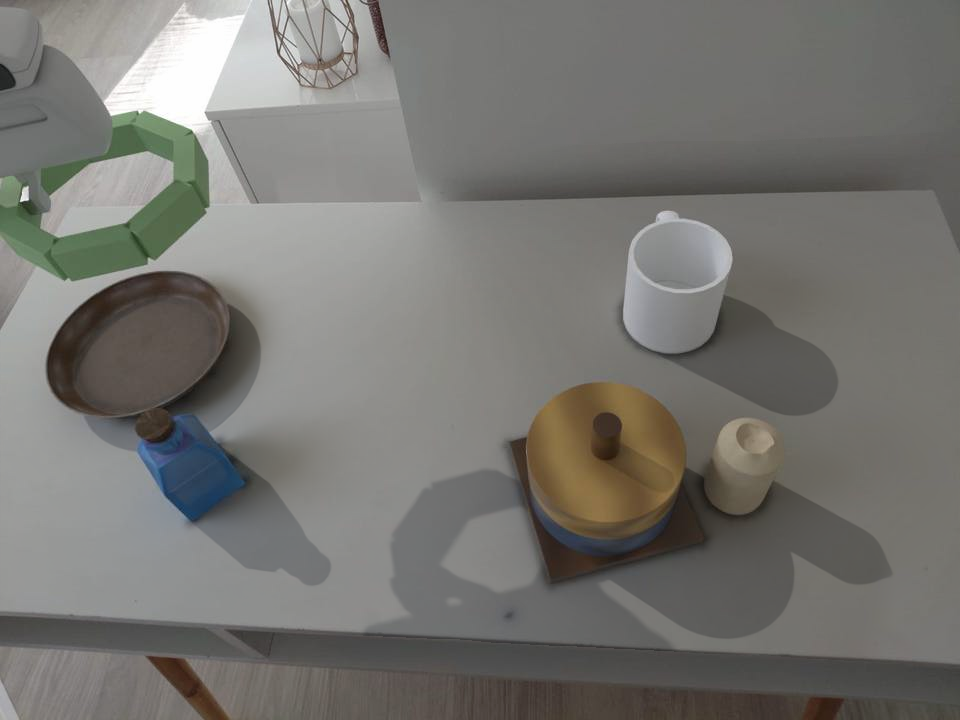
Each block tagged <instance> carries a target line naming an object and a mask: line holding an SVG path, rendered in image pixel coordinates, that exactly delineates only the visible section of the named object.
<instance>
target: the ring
mask: <svg viewBox="0 0 960 720" xmlns="http://www.w3.org/2000/svg"><path fill="white" fill-rule="evenodd" d="M111 118H112V122H113V134H112V140H111V143H110V146H109V149H108V151H107V153H106V154H105V155H102V156H98V157H93V158H89V159H84V160H80V161H75V162H71V163H66V164H62V165H57V166H53V167H48V168H44V169H41V186H42V187H43V189H44V190H45V191H46V193H47V194H48V196H49V197H50V196H51V195H53V194H55V192H57V191H58V190H59V189H60V188H62V187H63V186H64V185H65V184H67V183H68V182H69V181H71V179H73V178H74V177H75V176H76V175H78V174H79V173H81V172H82V171H83V170H84V169H86V167H88V166H89V165H90V164H94V163H98V162H103V161H108V160H109V161H110V160H112V159H117V158H122V157H127V156H132V155H137V154H140V153H147V152H148V153H151V154H153V155H155V156H158V157H160V158H162V159H165V160H167V161H169V162H172V163H173V169H172V170H173V176H172V177H173V178H172V179H173V180H172V182H170V183H169V185H167V186H166V187H165V188H164V189H163V190H162V191H160V192H159V193H158V194H157V195H156V196H155V197H154V198H152V199H151V200H150V201H149V202H148V203H147V204H146V205H144V206H143V207H142V208H141V209H140V210H139V211H138V212H136V213H135V214H134V215H133V216H132V217H131V218H129V220H127V221H126V222H124V223H118V224H114V225H110V226H105V227H99V228H96V229H92V230H88V231H83V232H77V233H74V234H73V233H72V234H68V235H65V236H60V237H57V236H56V235H54V234H52V233H50V232H49V231H46V230H44V229H43V228H42V227H41V225H42V219H43V213H42V214H37V215H32V216H31V215H30V214H29V213H28V212H27V210H26V209H25V208H24V207H23V206H22V204H21V203H20V198H21V195H22V194H21V193H22V187H26V186H28V181H27V182H25V183H19V182H18V180H17V179H16V178H15V177H14V175H13V176H8V177H4V178H1V183H0V237H1V238H2V239H3V240H4V242H5V243H6V244H7V245H8V246H9V247H10V248H11V250H12V251H13V252H14V253H15V254H16V256H18V257H21V258H22V259H24V260H26V261H27V262H29V263H31V264H33V265H34V266H36V267H38V268H40V269H42V270H44V271H45V272H47V273H49V274H51V275H52V276H54V277H56V278H58V279H60V280H62V281H64V282H65V281H67V280H68V279H69V280H70V281H71V282H72V283H73V282H76V281H82V280H85V279H90V278H94V277H99V276H104V275H108V274H112V273H113V274H114V273H116V272H122V271H126V270H130V269H135V268H139V267H143V266H147V265H148V264H149V259H151V260H153V261H157V260H158V259H159V258H160V257H161V256H162V255H163V254H164V253H166V252H167V250H169V248H171V247H172V246H173V245H175V243H176V242H177V241H179V239H181V237H182V236H184V235H185V234H186V233H187V232H188V231H189V230H190V229H192V227H194V226H195V225H196V224H197V223H198V222H199V221H200V220H201V219H202V218H203V217H204V216H206V214H207V210H206V209H208V208H210V207H211V206H210V205H211V202H210V201H211V200H210V171H209V169H210V167H209V165H210V164H209V159H208V156H207V155H206V153H205V152H204V148H203V147H202V145H201V142H200V141H199V139H198V137H197V135H196V133H194V131H193V129H191V128H189V127H186V126H184V125H182V124H179V123H176V122H173V121H171V120H169V119H166V118H164V117H162V116H160V115H157V114H154V113H152V112H149V111H146V110H142V111H141V112H139V110H132V111H131V110H130V111H127V112H122V113H118V114H114V115H111Z"/></svg>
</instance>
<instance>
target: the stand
mask: <svg viewBox="0 0 960 720" xmlns="http://www.w3.org/2000/svg"><path fill="white" fill-rule="evenodd" d="M684 437H685V436H684V435H683V432H682V429H681V427H680V425H679V424H678V422H677V420H676V419H675V417H674V416H673V414H672V413H671V412H670V410H668V409H667V407H666V406H665V405H663V403H661V402H660V401H659V400H657V398H655V397H653V396H652V395H650V394H649V393H647V392H645V391H643V390H641V389H638V388H637V387H633V386H630V385H626V384H623V383H620V382H619V383H618V382H610V381H595V382H587V383H583V384H578V385H576V386H573V387H570V388H567V389H565V390H563V391H561V392H560V393H558V394H556V395H555V396H554V397H552V398H550V399H549V400H548V401H547V402H546V403H545V404H544V405H543V406H542V407H541V408H540V410H539V411H538V412H537V414H536V415H535V417H534V419H533V421H532V422H531V425H530V427H529V430H528V432H527V436H526V437H525V436H524V437H522V438H518V439H514V440H510V441H508V445H509V446H508V447H509V449H510V450H509V451H510V453H511V457H512V460H513V464H514V467H515V470H516V473H517V477H518V481H519V484H520V487H521V491H522V494H523V498H524V500H525V504H526V507H527V511H528V514H529V517H530V520H531V525H532V527H533V531H534V534H535V538H536V540H537V541H536V542H537V544H538V548H539V551H540V554H541V558H542V561H543V565H544V568H545V571H546V574H547V578H548V581H549V584H554V583H558V582H560V581H565V580H568V579H573V578H576V577H579V576H583V575H587V574H590V573H594V572H595V573H596V572H598V571H602V570H606V569H609V568H613V567H617V566H620V565H624V564H627V563H631V562H632V563H633V562H635V561H640V560H642V559H647V558H651V557H654V556H657V555H661V554H664V553H668V552H672V551H676V550H679V549H683V548H687V547H691V546H694V545H699V544H702V543H703V542H704V540H705V535H704V533H703V531H702V529H701V528H702V527H700V526H701V525H700V524H699V522H698V519H697V517H696V515H695V512H694V511H693V508H692V505H691V503H690V501H689V498H688V496H687V494H686V492H685V489H684V488H683V485H682V480H683V477H684V475H685V474H684V473H685V469H686V464H687V448H686V447H687V446H686V442H685V438H684Z"/></svg>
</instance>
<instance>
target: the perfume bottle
mask: <svg viewBox="0 0 960 720" xmlns="http://www.w3.org/2000/svg"><path fill="white" fill-rule="evenodd" d="M134 431H135V433H136V435H137V436H138V437H139V444H138V447H137V451H136V453H137V455H138V456H139V457H140V459H141V462H143V464H144V465H145V467H146V469H147V470H148V472H149V474H150V475H151V477H152V478H153V480H154V481H155V483H156V485H157V486H158V488H159V490H160V491H161V493H162V494H163V496H164V497H165V498H166V499H167V500H168V501H169V503H171V504H172V505H173V506H174V507H175V508H176V509H177V510H178V511H179V512H180V513H181V514H182V515H183V516H185V518H186V519H187V520H188V521H190V522H191V523H194V521H196V520H198V519H199V518H200V517H201V516H203V515H205V514H206V513H207V512H209V511H210V510H212V509H213V508H214V507H216V506H217V505H218V504H220V503H221V502H223V501H224V500H226V499H227V498H229V497H230V496H232V494H235V492H237V491H238V490H240V489H241V488H242V487H244V486H245V485H247V484H246V482H245V480H244V479H243V477H242V476H241V474H240V473H239V472H238V470H237V469H236V467H235V466H234V464H233V463H232V462H231V460H230V459H229V458H228V456H227V455H226V454H225V452H224V451H223V448H221V446H220V445H219V443H218V442H217V440H215V438H214V437H213V436H212V435H211V433H210V432H209V431H208V429H207V428H206V427H205V426H204V424H203V422H201V420H200V419H199V418H198V417H197V416H196V415H195V414H194V413H191V414H190V413H189V414H178V415H176V416H174V415H171V414H170V413H169V412H168V411H167V410H166V409H164V408H155V409H150V410H148V411H146V412H145V413H144V414H142V415H139V417H138V418H137V420H136V422H135V424H134Z"/></svg>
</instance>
